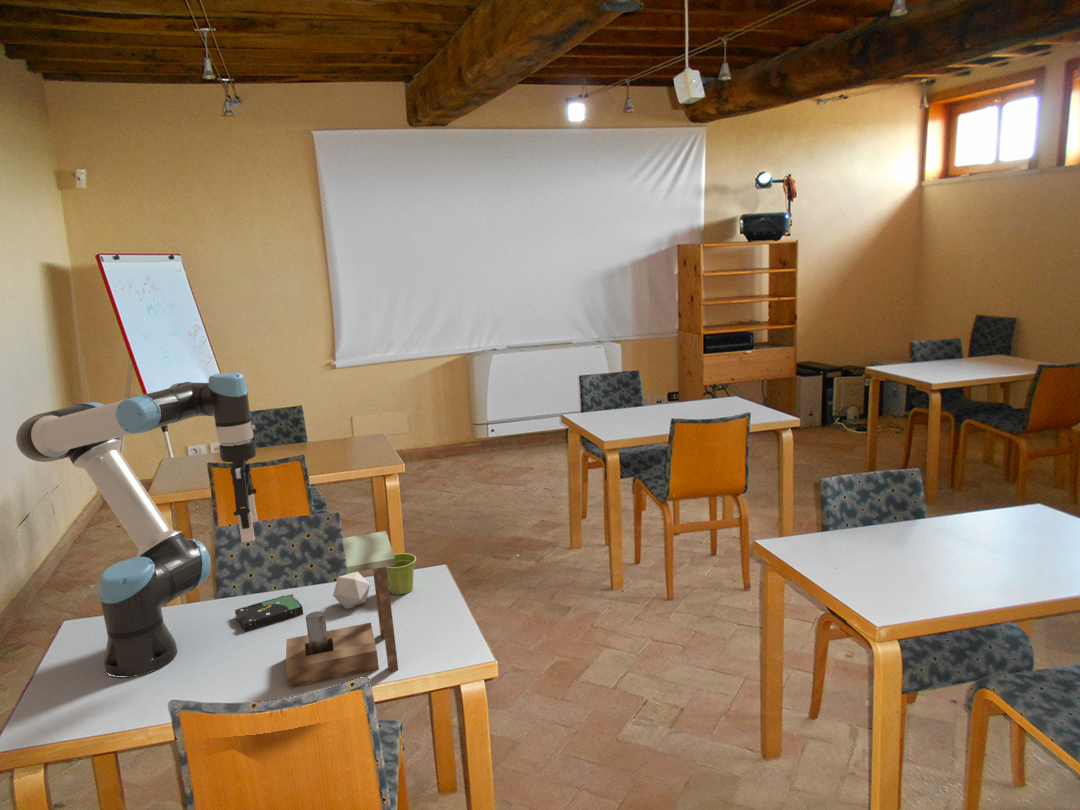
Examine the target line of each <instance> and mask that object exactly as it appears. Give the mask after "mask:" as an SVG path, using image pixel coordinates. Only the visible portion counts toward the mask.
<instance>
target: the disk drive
mask: <svg viewBox="0 0 1080 810" xmlns="http://www.w3.org/2000/svg"><path fill="white" fill-rule="evenodd" d="M234 612H235V618H236V620H237V621H238V622H237V623H239V625H240V627H241V629H242V630H243V633H247V632H249V631H253V630H257V629H259V628H262V627H266V626H270V625H273V624H275V623H280V622H283V621H286V620H289V619H293V618H296V617H299V616H302V615H304V609H303V605H302V604H301V603H300V602H299V600H298V599H297V598H296V597H295V596H294V593H293V594H292V593H291V594H287V595H281V596H278V597H276V598H275V597H274V598H271V599H268V600H264V601H261V602H257V603H253V604H251V605H246V606H244V607H239V608H237V609H234Z"/></svg>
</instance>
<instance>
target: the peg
mask: <svg viewBox="0 0 1080 810" xmlns="http://www.w3.org/2000/svg"><path fill="white" fill-rule="evenodd" d="M305 622H306V630H307V635H308V639H309V647H310V654H311V655H314V654H319V653H324V652H328V651H329V646H328V638H327V631H328V630H327V625H326V624H327V623H326V616H325V612H324V611H312V612H310V613H308V614H306V615H305Z"/></svg>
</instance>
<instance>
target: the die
mask: <svg viewBox="0 0 1080 810" xmlns="http://www.w3.org/2000/svg"><path fill="white" fill-rule="evenodd" d="M370 587H371V584H370V583H369V582H368V581H367V580H366V579H365V578H364V576H363V575H362V574H360V572H354V573H349V574H348V573H347V574H343V575H340V576H338V577H337V580H336V583H335V587H334V591H333V595H332V596H333V597H334V598H335V599H336V601H337V602H339V604H340V605H342V607H343V608H344V609H346V610H348V609H352V608H354V607H358V606H361V605H364V604H366V601H367V598H368V595H369V591H370Z"/></svg>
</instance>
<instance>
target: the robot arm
mask: <svg viewBox="0 0 1080 810" xmlns="http://www.w3.org/2000/svg"><path fill="white" fill-rule="evenodd" d="M248 392H249V390H248V388H247V384H246V379H245V376H244V374H243V373H241V372H237V371H231V372H221V373H215V374H212V375H209V377H208V382H191V381H185V382H177V383H174V384H172V385H171V386H170V387H169V388H165V389H161V390H158V391H154V392H148V393H145V394H139V395H134V396H131V397H128V398H125V399H122V400H117V401H116V402H115V401H114V402H110V403H107V404H104V403H103V402H96V401H92V402H91V401H90V402H82V403H77V404H74V405H71V406H68V407H63V408H59V409H55V410H51V411H45V412H41V413H38V414H35V415H33V416H31V417H28V418H27V419H26V420H25V421H24V422H23V423H21V425H20V426H19V427H18V429H17V433H16V437H15V441H16V446H17V448H18V450H19V451H20V453H21V454H22V455H24V456H25V457H26V458H27V459H30V460H32V461H36V462H39V463H40V462H41V463H47V462H55V461H58V460H63V459H66V458H68V459H69V461H70V462H71V464H72V465H73V466H74V467H75V468H78V469H79V468H80V469H84V470H85V472H86V473H87V475H88V476H89V477H90V479H91V481H92V482H93V483H94V485H95V486H96V488H97V490H98V491H99V492H100V494H101V496H102V497H103V499H104V500H105V501H106V503H107V504H108V506H109V508H110V509H111V510H112V512H113V513H114V514H115V516H116V518H117V519H118V521H119V522H120V524H121V525H122V527H123V528H124V530H125V531H126V533H127V535H128V536H129V537H130V538H131V540H132V542H133V543H134V545H135V546H136V547H137V549H138V552H137V555H136V557H130V558H128V559H127V560H121V561H118V562H116V563H114V564H113V565H111V566H109V567H108V568H106V569H105V570H104V571H103V572H102V573H101V574H100V576H99V578H98V583H97V586H98V598H99V601H100V603H101V608H102V613H103V618H104V623H105V624H104V625H105V629H106V634H107V642H106V648H105V654H104V659H103V666H104V671H105V670H106V671H105V673H106V672H107V673H109V674H111V675H115V676H134V675H139V676H141V675H140V674H143V675H145V674H144V673H146V674H148V673H147V672H149V673H151V672H150V671H152V672H154V671H156V670H155V669H157V670H159V669H161V668H163V667H164V666H166V665H168V664H169V663H170V662H172V661H173V660H174V659H175V658H176V656H177V654H178V646H177V643H176V640H175V638H174V637H173V635H172V634H171V632H170V630H169V629H168V627H167V625H166V623H165V622H164V616H163V612H162V607H163V606H166V605H167V604H168V603H170V602H173V601H174V600H176V599H178V598H180V597H181V596H184V595H185V594H187V593H188V592H189V593H190V592H192V591H194V590H195V589H196V588H197V587H199V586H200V585H202V584H203V583H205V581H206V580H207V579H208V577H209V575H210V571H211V564H212V563H211V557H210V554H209V551H208V549H207V548H206V546H205V545H204V544H203V542H201V541H199V540H197V539H196V538H195V539H194V538H187V537H186V536H185V535H184V533H183V531H182V530H174V529H173V528H172V527H171V525H170V524H169V522H168V521H167V519H166V518H165V517H164V515H163V514H162V512H161V510H160V509H159V508H158V506H157V505H156V503H155V502H154V500H153V499H152V497H151V495H150V494H149V493H148V491H147V489H146V488H145V487H144V485H143V484H142V482H141V481H140V479H139V478H138V477H137V475H136V473H135V472H134V470H133V469H132V467H131V466H130V465H129V462H128V461H127V459H125V457H124V455H123V454H122V452H121V447H122V440H121V437H124V436H125V437H126V436H129V435H132V434H133V435H135V434H136V435H137V434H142V433H146V432H150V431H152V430H154V429H157V428H161V427H164V426H167V425H171V424H175V423H178V422H181V421H185V420H188V419H192V418H195V417H202V416H203V417H213V418H214V424H215V425H214V426H215V432H216V438H217V443H219V446H218V448H219V457H220V460H221V461H222V462H224V463H232V466H231V469H230V476H231V477H232V485H233V493H234V502H235V504H234V505H235V511H233V516H234V517H235V516H237V519H238V527H239V533H240V540H241V543H247V542H249V543H250V542H253V541H256V538H255V537H256V536H255V532H254V531H255V530H254V525H253V523H255V522H258V521H259V520H258V515H257V507H256V501H255V495H254V494H257V488H254V485H253V479H252V474H251V464H250V463H249V460H251V459H253V458H254V457H256V455H257V451H256V449H257V448H256V443H255V441H254V440H253V438H254V432H253V430H255V429H256V426H255V424H252V419H251V418H252V417H251V411H250V404H249V394H248ZM167 663H168V664H167ZM162 666H163V667H162ZM160 667H161V668H160ZM158 668H159V669H158ZM153 670H154V671H153ZM107 673H106V674H107ZM134 677H135V676H134Z"/></svg>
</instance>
